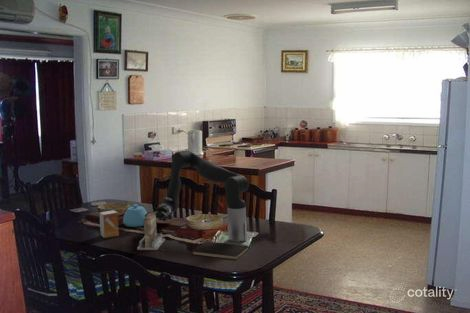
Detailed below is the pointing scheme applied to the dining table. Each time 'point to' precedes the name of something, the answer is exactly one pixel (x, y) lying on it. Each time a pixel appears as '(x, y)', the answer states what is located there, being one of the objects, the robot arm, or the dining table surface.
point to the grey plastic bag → (155, 243)
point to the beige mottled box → (150, 228)
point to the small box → (109, 224)
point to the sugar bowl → (134, 216)
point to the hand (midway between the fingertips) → (155, 219)
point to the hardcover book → (220, 250)
